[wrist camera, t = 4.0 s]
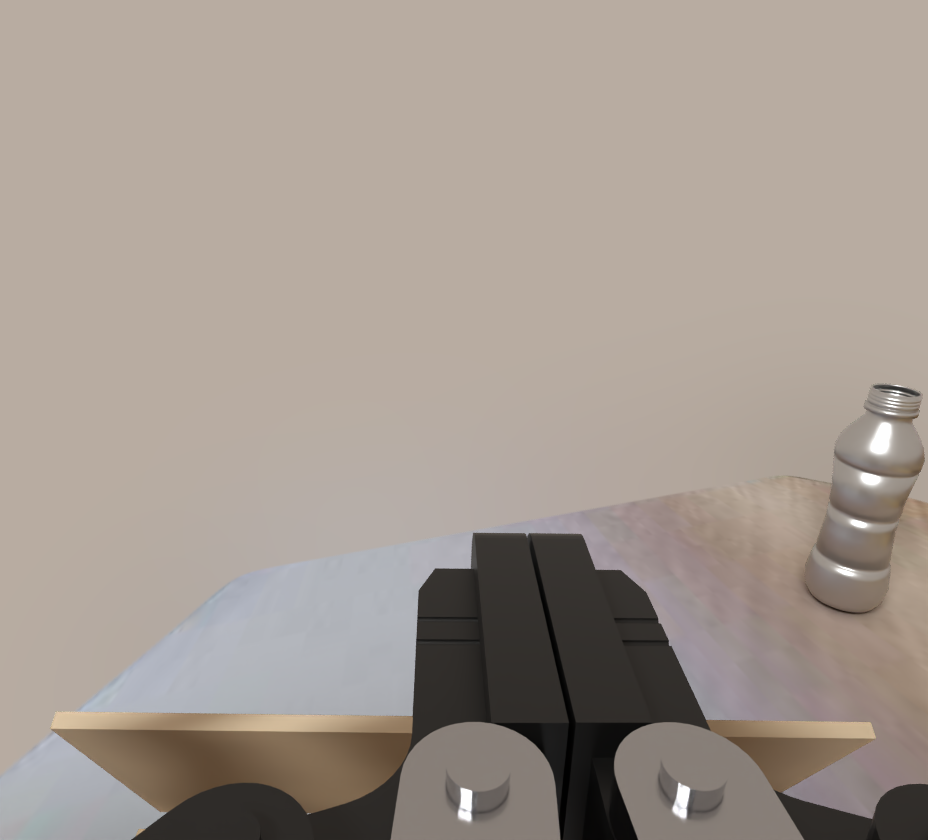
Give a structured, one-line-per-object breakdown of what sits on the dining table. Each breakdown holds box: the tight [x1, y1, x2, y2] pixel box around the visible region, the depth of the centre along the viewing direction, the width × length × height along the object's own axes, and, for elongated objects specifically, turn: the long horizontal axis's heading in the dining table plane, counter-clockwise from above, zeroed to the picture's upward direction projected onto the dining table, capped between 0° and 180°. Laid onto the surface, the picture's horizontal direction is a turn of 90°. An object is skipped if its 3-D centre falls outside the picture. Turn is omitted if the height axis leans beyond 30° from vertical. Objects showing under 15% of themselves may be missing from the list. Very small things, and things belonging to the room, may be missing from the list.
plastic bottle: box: [805, 384, 925, 613], centre depth 61 cm, size 6×7×20 cm
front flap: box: [50, 712, 876, 813], centre depth 22 cm, size 21×10×1 cm
